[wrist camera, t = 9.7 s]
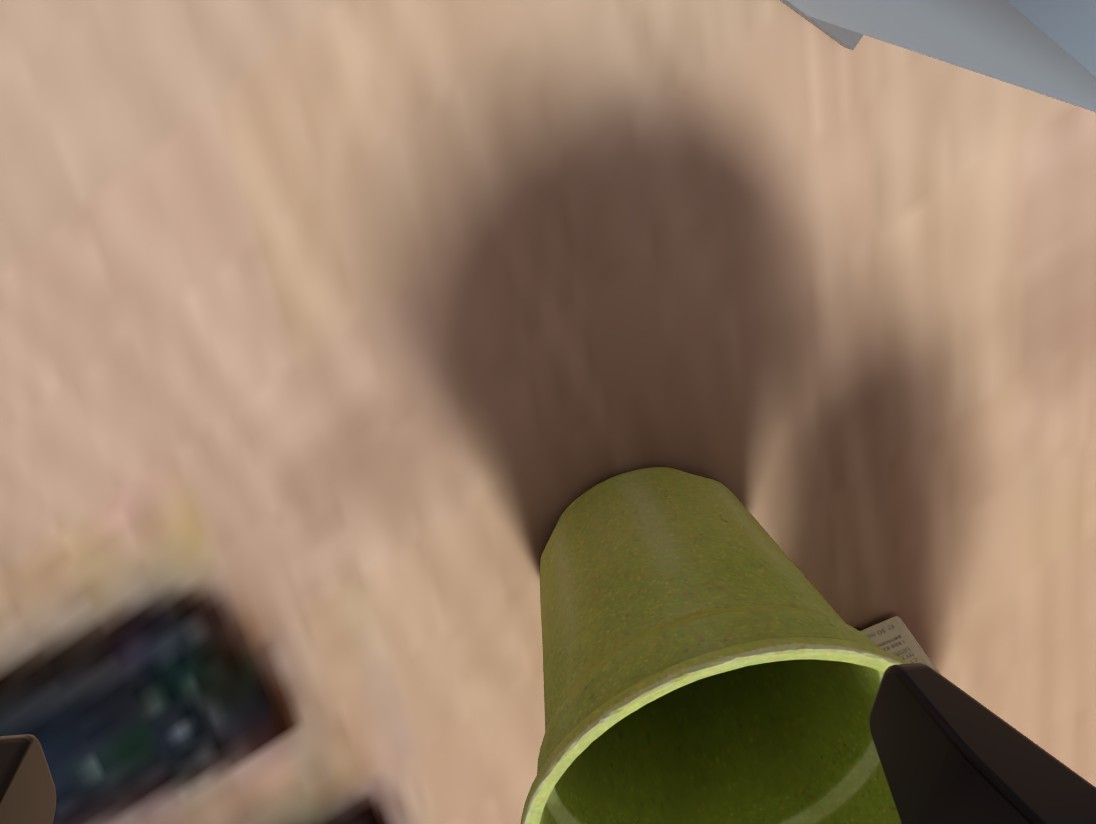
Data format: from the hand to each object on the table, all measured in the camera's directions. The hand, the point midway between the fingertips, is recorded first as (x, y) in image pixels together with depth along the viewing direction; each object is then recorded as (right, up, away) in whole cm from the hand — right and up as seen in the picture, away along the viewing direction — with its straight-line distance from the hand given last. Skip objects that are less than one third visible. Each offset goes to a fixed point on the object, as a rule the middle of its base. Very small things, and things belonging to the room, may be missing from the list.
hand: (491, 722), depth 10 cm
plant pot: (+3, -1, +17) cm, 17 cm away
